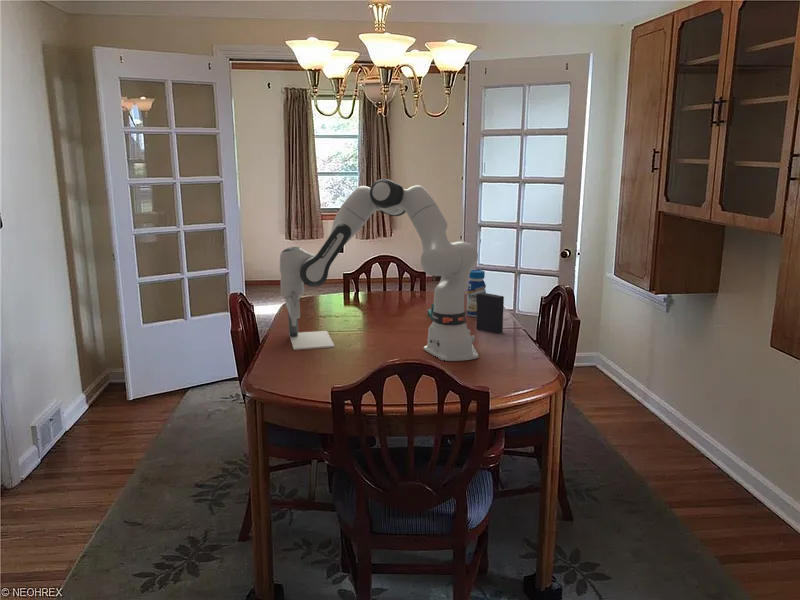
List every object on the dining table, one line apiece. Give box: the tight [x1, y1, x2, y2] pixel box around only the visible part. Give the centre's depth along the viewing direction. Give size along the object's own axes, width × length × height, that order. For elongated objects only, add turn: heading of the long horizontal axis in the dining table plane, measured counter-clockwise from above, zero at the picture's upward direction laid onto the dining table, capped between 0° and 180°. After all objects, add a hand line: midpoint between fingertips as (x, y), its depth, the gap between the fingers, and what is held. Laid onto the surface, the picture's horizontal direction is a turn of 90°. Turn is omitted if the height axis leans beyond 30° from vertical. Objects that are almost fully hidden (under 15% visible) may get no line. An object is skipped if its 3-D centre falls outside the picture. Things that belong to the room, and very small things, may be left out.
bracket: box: [427, 303, 434, 320], centre depth 279 cm, size 18×7×8 cm, turn 8°
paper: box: [288, 330, 336, 351], centre depth 245 cm, size 21×15×1 cm
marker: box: [287, 306, 299, 337], centre depth 247 cm, size 4×4×12 cm
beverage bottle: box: [466, 269, 487, 318], centre depth 283 cm, size 8×8×20 cm
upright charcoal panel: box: [475, 292, 505, 335], centre depth 258 cm, size 11×4×15 cm, turn 47°
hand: (293, 324), depth 248 cm, fingers closed on marker, 4 cm apart
